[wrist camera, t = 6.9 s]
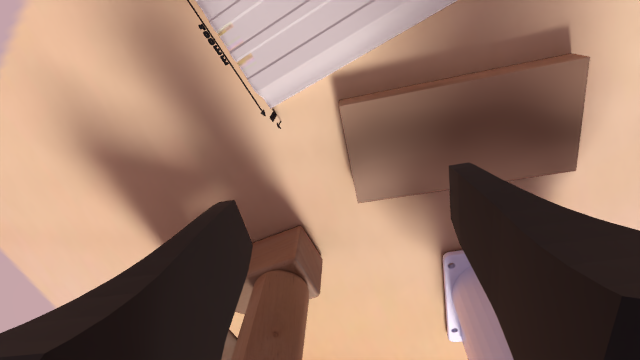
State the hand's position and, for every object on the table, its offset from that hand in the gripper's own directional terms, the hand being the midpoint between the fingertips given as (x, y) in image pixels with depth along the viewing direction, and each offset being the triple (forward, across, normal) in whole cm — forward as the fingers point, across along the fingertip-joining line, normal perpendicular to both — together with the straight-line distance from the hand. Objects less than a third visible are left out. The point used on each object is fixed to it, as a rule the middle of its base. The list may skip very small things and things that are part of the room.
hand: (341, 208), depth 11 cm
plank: (+9, -6, +2) cm, 11 cm away
